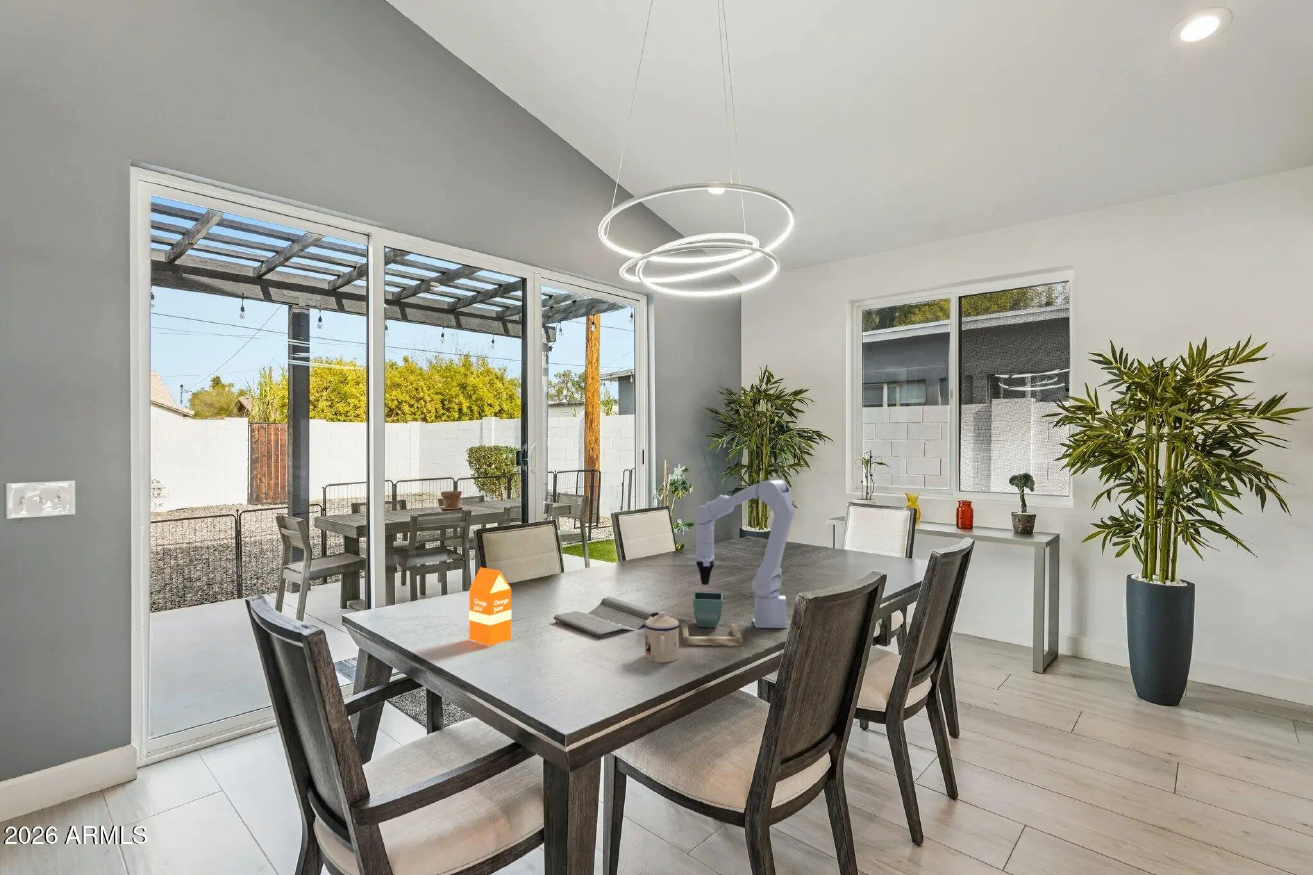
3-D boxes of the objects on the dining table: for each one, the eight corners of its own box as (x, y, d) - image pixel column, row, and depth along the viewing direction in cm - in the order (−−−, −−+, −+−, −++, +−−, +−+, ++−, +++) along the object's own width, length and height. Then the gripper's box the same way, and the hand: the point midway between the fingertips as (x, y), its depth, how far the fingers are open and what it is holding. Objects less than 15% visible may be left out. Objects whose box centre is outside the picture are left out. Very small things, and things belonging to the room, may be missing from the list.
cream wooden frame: (736, 630, 183) (736, 623, 183) (742, 645, 169) (742, 638, 169) (682, 630, 183) (682, 623, 183) (683, 645, 169) (683, 638, 169)
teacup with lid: (644, 651, 165) (644, 607, 165) (678, 651, 165) (678, 607, 165) (643, 667, 153) (643, 620, 153) (680, 667, 153) (680, 620, 153)
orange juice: (491, 634, 179) (491, 565, 179) (511, 639, 174) (511, 568, 174) (468, 641, 172) (468, 569, 172) (489, 647, 167) (489, 573, 167)
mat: (552, 624, 190) (552, 609, 190) (611, 610, 206) (611, 595, 206) (599, 642, 173) (600, 625, 173) (660, 625, 190) (660, 609, 190)
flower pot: (722, 621, 192) (722, 592, 192) (722, 630, 183) (722, 599, 183) (694, 620, 192) (694, 591, 192) (692, 629, 184) (692, 599, 184)
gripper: (691, 538, 208) (691, 579, 208) (693, 546, 193) (693, 589, 193) (712, 538, 208) (712, 579, 208) (716, 546, 193) (716, 589, 193)
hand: (704, 584), depth 201 cm, fingers closed
